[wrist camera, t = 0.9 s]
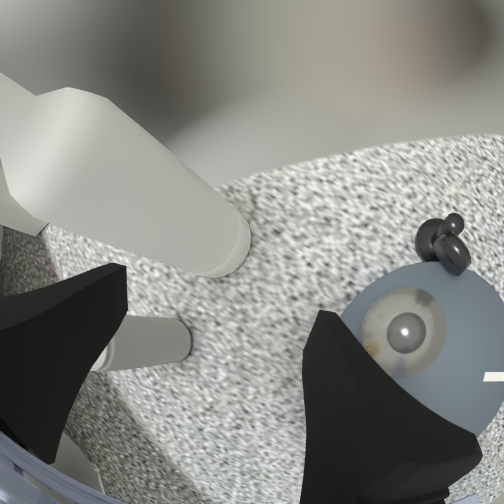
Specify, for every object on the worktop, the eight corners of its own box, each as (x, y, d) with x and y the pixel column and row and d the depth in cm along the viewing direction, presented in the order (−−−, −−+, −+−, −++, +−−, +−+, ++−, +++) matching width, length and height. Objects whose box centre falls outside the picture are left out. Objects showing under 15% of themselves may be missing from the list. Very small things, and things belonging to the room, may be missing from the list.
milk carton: (36, 237, 47) (-37, 210, 29) (37, 209, 49) (-30, 181, 32) (52, 219, 45) (-26, 187, 28) (53, 192, 48) (-18, 157, 30)
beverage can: (200, 352, 28) (115, 362, 17) (168, 367, 29) (82, 379, 18) (183, 311, 30) (97, 301, 19) (153, 329, 31) (67, 325, 20)
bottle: (237, 194, 31) (1, -17, 4) (265, 257, 28) (-76, 30, 1) (178, 229, 33) (-68, 94, 5) (198, 291, 30) (-121, 192, 2)
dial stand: (469, 255, 21) (499, 234, 15) (439, 285, 21) (465, 273, 15) (436, 212, 23) (455, 180, 17) (405, 240, 23) (420, 214, 17)
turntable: (531, 372, 14) (557, 379, 10) (381, 492, 17) (382, 521, 12) (440, 224, 21) (456, 202, 17) (282, 350, 24) (263, 356, 19)
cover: (450, 336, 18) (464, 338, 15) (388, 386, 19) (392, 397, 16) (407, 274, 20) (415, 266, 17) (345, 324, 21) (343, 325, 18)
